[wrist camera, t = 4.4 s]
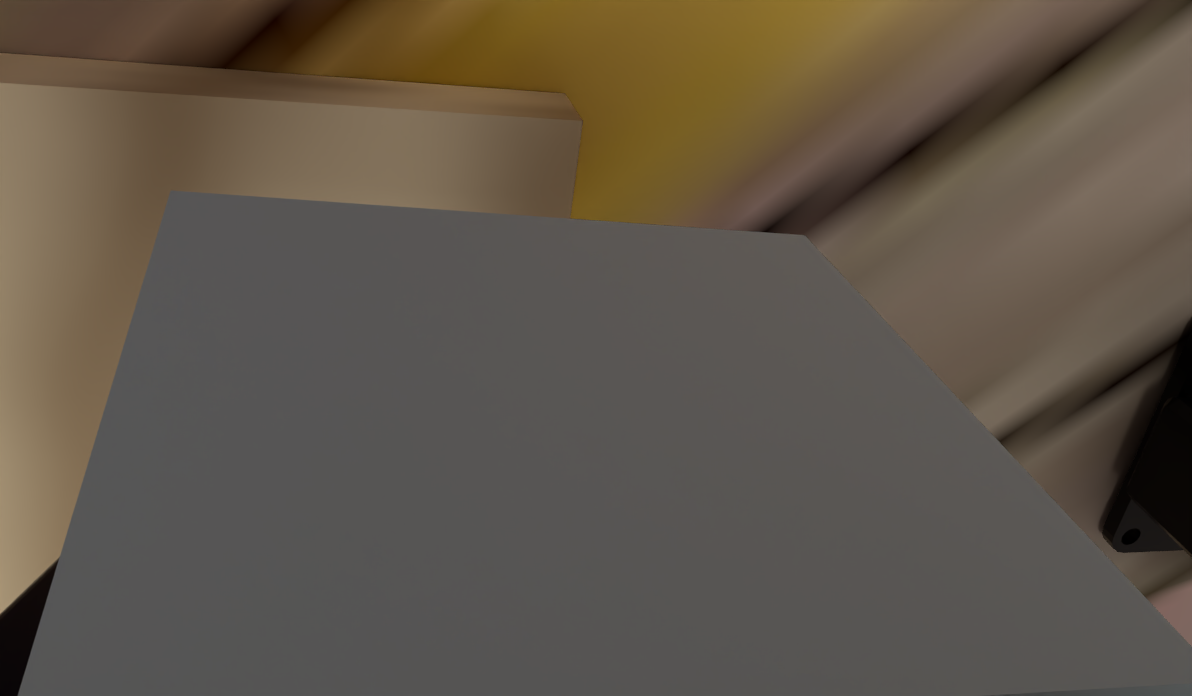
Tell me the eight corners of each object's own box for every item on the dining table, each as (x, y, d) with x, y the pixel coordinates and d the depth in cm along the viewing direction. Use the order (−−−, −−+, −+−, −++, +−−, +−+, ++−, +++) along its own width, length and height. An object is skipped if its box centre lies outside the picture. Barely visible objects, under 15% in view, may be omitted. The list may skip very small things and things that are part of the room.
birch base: (564, 93, 18) (582, 121, 17) (492, 686, 25) (501, 738, 24) (-423, 22, 15) (-492, 50, 14) (-204, 734, 22) (-237, 797, 20)
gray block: (804, 235, 9) (1224, 683, 5) (684, 669, 11) (899, 1223, 7) (171, 190, 8) (2, 752, 4) (180, 693, 10) (87, 1390, 6)
